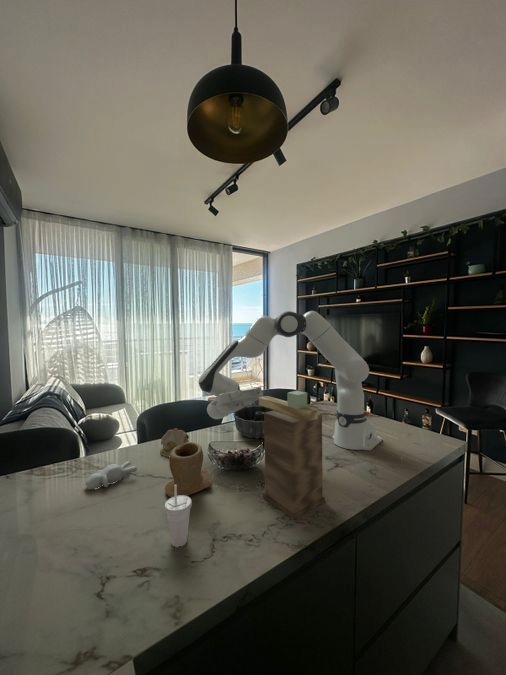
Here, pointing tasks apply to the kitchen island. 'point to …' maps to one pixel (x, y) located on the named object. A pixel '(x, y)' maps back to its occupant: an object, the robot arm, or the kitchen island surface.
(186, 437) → the ceramic model
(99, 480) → the bunny figurine
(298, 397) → the sage cube
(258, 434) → the bundt pan
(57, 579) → the kitchen island surface
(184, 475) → the stone cup
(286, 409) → the oak slat
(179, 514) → the smoothie
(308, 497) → the walnut block
